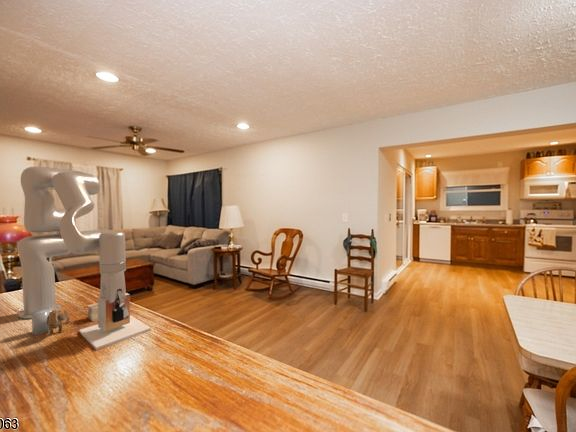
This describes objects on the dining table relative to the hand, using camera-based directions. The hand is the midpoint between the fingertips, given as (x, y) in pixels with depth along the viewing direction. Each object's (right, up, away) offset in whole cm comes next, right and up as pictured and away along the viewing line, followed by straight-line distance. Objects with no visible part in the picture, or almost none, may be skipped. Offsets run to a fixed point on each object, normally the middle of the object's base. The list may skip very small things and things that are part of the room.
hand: (114, 317), depth 91 cm
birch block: (-14, -4, +11) cm, 18 cm away
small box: (0, -3, 0) cm, 3 cm away
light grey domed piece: (-25, -5, 0) cm, 26 cm away
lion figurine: (-20, -5, +1) cm, 21 cm away
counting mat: (0, -5, 0) cm, 5 cm away
